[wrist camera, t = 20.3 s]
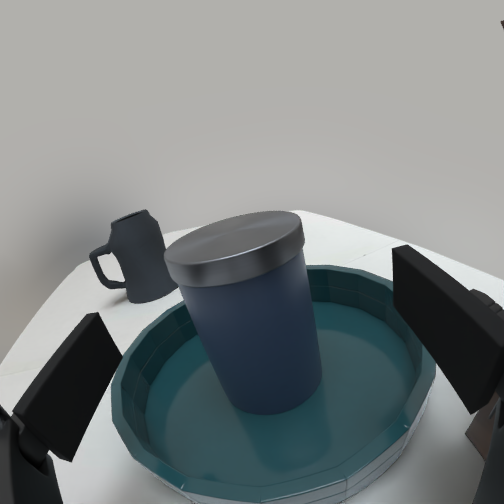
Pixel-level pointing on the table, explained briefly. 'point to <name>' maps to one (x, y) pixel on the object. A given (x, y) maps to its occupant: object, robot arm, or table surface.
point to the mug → (137, 258)
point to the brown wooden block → (483, 421)
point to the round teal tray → (286, 423)
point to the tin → (252, 307)
